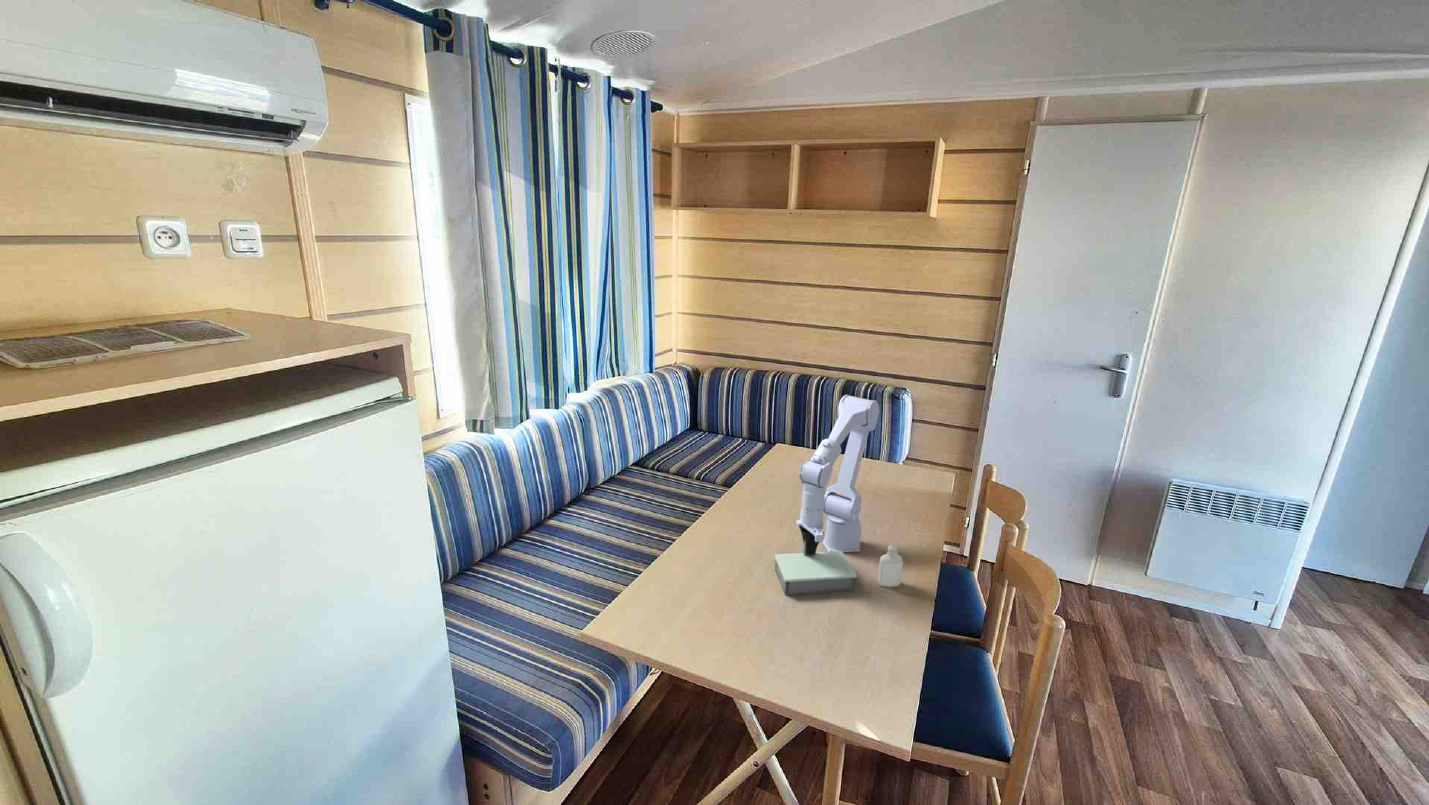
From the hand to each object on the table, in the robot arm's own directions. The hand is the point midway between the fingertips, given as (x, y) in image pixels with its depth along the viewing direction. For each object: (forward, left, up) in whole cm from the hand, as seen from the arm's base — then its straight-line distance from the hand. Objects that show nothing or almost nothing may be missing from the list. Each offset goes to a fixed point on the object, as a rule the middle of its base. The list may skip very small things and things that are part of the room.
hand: (809, 552), depth 153 cm
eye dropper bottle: (-19, +8, -6) cm, 22 cm away
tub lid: (0, +5, -1) cm, 5 cm away
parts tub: (0, +5, -5) cm, 7 cm away
